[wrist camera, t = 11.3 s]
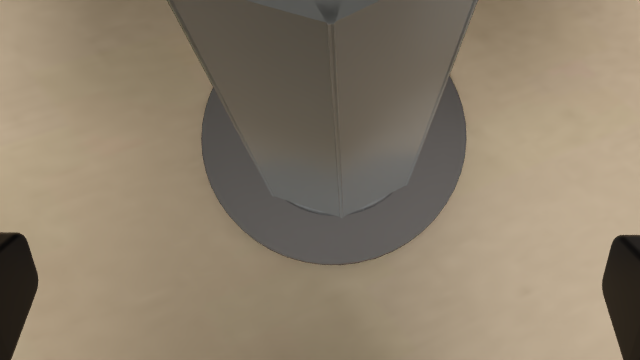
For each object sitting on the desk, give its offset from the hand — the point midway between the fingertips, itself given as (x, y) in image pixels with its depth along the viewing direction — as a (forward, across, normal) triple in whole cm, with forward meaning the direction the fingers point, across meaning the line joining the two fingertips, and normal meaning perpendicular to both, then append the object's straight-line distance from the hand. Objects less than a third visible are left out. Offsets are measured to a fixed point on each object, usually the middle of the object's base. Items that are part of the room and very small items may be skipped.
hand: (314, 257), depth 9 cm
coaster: (+12, 0, +4) cm, 12 cm away
